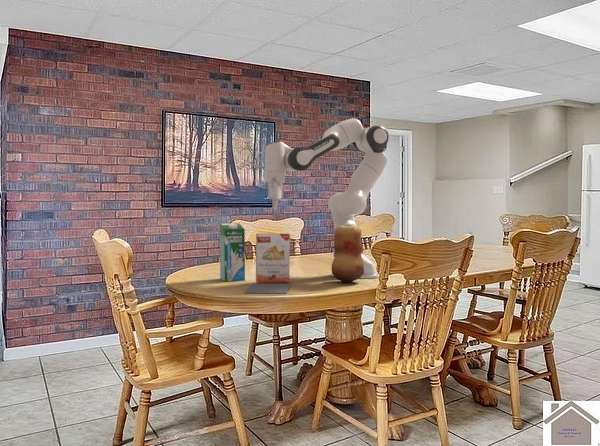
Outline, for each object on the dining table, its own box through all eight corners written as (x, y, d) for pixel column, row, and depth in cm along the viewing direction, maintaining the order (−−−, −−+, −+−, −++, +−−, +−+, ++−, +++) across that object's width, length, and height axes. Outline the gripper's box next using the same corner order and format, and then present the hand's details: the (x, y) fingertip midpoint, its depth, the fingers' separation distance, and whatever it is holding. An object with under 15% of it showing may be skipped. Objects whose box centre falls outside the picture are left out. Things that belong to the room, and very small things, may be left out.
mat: (290, 284, 208) (290, 283, 208) (285, 293, 187) (285, 292, 187) (252, 284, 209) (252, 283, 209) (243, 293, 188) (243, 292, 188)
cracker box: (257, 283, 207) (257, 233, 208) (255, 281, 213) (255, 233, 213) (290, 282, 210) (290, 233, 210) (287, 281, 216) (287, 233, 216)
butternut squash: (332, 285, 206) (332, 225, 205) (330, 279, 219) (330, 223, 218) (365, 285, 206) (366, 224, 205) (362, 279, 219) (362, 223, 218)
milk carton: (224, 281, 215) (224, 224, 214) (220, 278, 224) (219, 223, 222) (245, 280, 219) (244, 223, 217) (239, 277, 227) (239, 222, 226)
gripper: (279, 177, 209) (279, 210, 210) (284, 179, 229) (284, 209, 230) (264, 177, 210) (264, 210, 210) (270, 179, 230) (270, 209, 231)
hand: (275, 209), depth 220 cm, fingers closed
